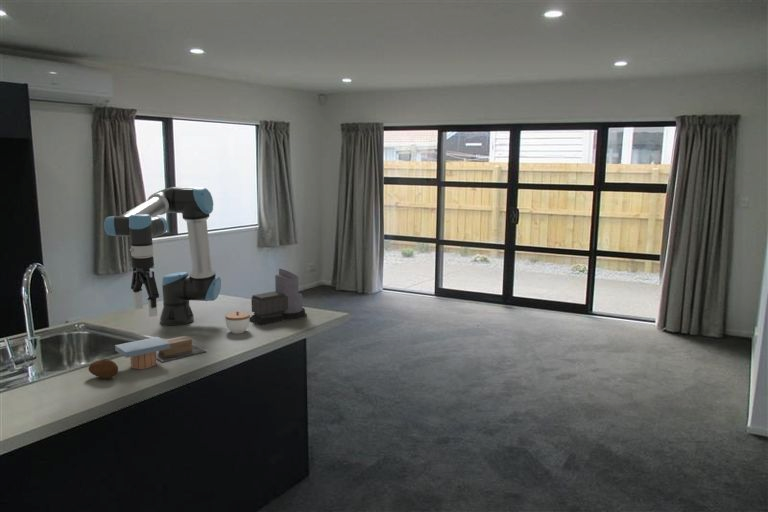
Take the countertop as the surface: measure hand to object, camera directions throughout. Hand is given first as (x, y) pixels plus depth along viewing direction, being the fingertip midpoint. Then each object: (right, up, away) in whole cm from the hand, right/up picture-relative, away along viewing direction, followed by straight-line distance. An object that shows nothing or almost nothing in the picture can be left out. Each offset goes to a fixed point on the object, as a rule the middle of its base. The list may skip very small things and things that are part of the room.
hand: (145, 312), depth 213 cm
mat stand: (+6, -17, +14) cm, 23 cm away
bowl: (-1, -20, 0) cm, 20 cm away
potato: (-9, -22, -13) cm, 27 cm away
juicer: (+38, -10, +68) cm, 78 cm away
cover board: (-1, -14, -1) cm, 14 cm away
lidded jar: (+23, -13, +43) cm, 51 cm away
